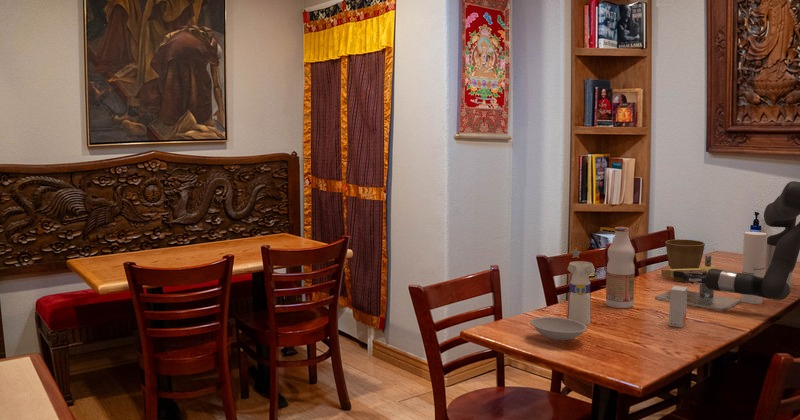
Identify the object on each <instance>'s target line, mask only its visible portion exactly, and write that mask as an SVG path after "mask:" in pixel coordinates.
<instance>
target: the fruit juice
mask: <svg viewBox="0 0 800 420" xmlns="http://www.w3.org/2000/svg"><path fill="white" fill-rule="evenodd" d="M614 233H615V234H614V237H613V240H612V242H611V244H610V245H609V247H608V249H607V257H608V262H607V265H606V281H605V286H606V288H605V305H607V306H608V307H610V308H614V309H615V308H617V309H630V308H632V307H633V306H634V301H635V300H634V295H635V273H636V271H635V269H636V268H635V267H636V266H635V264H634V259H635V254H636V252H635V248H634V247H633V244H632V242H631V239H630V236H629V233H630V228H629V227H626V226H615V227H614Z"/></svg>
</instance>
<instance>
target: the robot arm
mask: <svg viewBox="0 0 800 420" xmlns="http://www.w3.org/2000/svg"><path fill="white" fill-rule="evenodd" d="M799 216H800V181H796V180H794V181H792V180H791V181H789V182H787V184H786V185H785V186H784V188H783V189H782V192H781V193H780V195H779V196H777V197H776V198H775V200H774V201H772V202H771V203H768V204H767V205H766V207H765V209H764V212H763V220H764V223H765V225H767V226H768V227H772V228H784V229H783V230H782V231H781V232H778V233H775V234H772V235H769V236H767V237H766V253H765V270H764V278H762V277H757V276H754V275H751V274H744V273H742V272H738V271H737V272H736V271H733V270H727V269H719V268H715V269H710V270H709V271H708V273H707V272H706V271H689V272H688V271H687V272H682V271H674V272H673V277H672V278H674V277H676V278H683V280H684V281H686V282H685V283H689V284H692V285H693V284H698V285H700V284H703V283H706V285H707V288H708V289H709V290H714V292H715V291H716V292H722V293H728V294H729V293H731V294H732V293H733V294H740V295H741V294H745V295H755V296H759V297H763V299H764V298H765V299H767V300H768V299H769V300H773V301H774V300H775V301H781V300H785V299H787V297H789V295H790V293H791V289H792V282H793V281H792V279H793V271H794V269H795V267H796V265H797V260H798V258H799V254H800V221H799V222H798V223H797V217H799ZM796 223H797V224H796Z"/></svg>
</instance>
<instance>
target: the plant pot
mask: <svg viewBox="0 0 800 420" xmlns="http://www.w3.org/2000/svg"><path fill="white" fill-rule="evenodd" d="M705 244H706V243H705V242H704V241H701V240H695V239H684V238H683V239H669V240H666V241H665V249H666V255H667V260H668V263H669V264H668V265H669V267H670V268H669V269H697V268H700V267H701V263H702V260H703V255H704V251H705ZM673 280H674V281H676V282H679V283H680V282H681V283H687V282H686V281H684V280H683V278H676V277H673Z"/></svg>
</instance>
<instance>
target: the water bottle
mask: <svg viewBox="0 0 800 420" xmlns="http://www.w3.org/2000/svg"><path fill="white" fill-rule="evenodd" d="M577 249H578V248H575V249H574V250H571V251H570V252H571V253H572V258H573V259H574V258H578V259H580V257H579V255H580V254H581V253H582V252H581V251H578V250H577ZM567 271H569V272H570V279H569V280H568V282H569V292H568V299H567V316H566V317H567V318H566V319H571V320H575V321H578V322H581V323H583V324H585V325H586V326H587V325H590V324H591V323H592V294H591V284H592V281H591V278H590V275H592V274H593V273H594V272H595V271H596V269H595V266H594V265H593V263H592V262H589V261H582V260H581V261H570V262H569V264H568V267H567Z"/></svg>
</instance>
